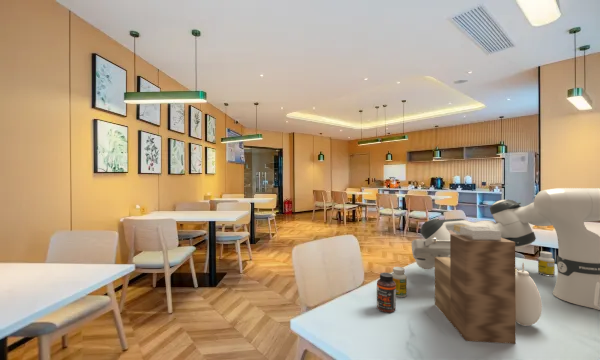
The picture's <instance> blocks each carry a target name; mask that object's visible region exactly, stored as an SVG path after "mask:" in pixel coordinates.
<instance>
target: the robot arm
mask: <svg viewBox="0 0 600 360" xmlns="http://www.w3.org/2000/svg"><path fill="white" fill-rule="evenodd" d="M521 204H522V203H521V202H517V201H515V200H513V199H500V200H496V202H494V203H492V205H490V207H489V212H490V215H492V217H493V219H494V221H492V220H480V221H475V222H473V221H469V220H467V219H465V218H449V219H437V218H432V219H429V220H428V221H427V220H426V221H425V222H424V223H423V224H421V227H420V234H421V236H422V237H423V238H424V239H421V238H420V239H417V238H416V239H413V240H412V241H411V253H412V256H413V259H414V260H415V262H416V264H417V266H418V267H419V268H421V269H422V270H431V269H435V257H450V234H451V232H453V233H454V234H457V235H460V232H458V231H456V230H454V225H466V226H475V227H489V228H492V229H495V230H499V231H501V238H504V239H507V240H510V241H513V242H515V248H516V247H517V248H518V247H520V248H521V247H528V246H529V245H531V244H532V243H534V242H535V241H536V239H537V237H536V234H535V232H534V231H533V230H532V226H531V225H533V226H539V227H549V226H553V228H554V231H555V233H556V236H557V243H558V244H557V246H558V247H557V249H558V250H557V251H558V255H556V269H557V275H556V276H557V277H556V281H555V285H554V288H553V291H552V295H553V296H554V297H556V298H558V299H560V300H562V301H565V302H568V303H571V304H574V305H577V306H582V307H585V308H586V307H587V308H590V309H595V310H598V311H600V235H599V234H597V233H595V232H594V231H591V230H589V229H587V226H586V225H585V223H587V222H588V223H589V222H599V221H600V188H599V187H597V188H596V187H588V188H587V187H555V188H548V189H543V190H540V191H539V192H537V194H536V195H535V197H534V200H533V202H531V203H529V204H528V205H525V206H522V205H521ZM450 231H451V232H450Z"/></svg>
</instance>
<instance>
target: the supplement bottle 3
mask: <svg viewBox="0 0 600 360" xmlns="http://www.w3.org/2000/svg"><path fill="white" fill-rule="evenodd" d="M539 254H540V255H539V257H538V258H537V269H538V270H537V272H538V273H537V274H539V273H540V274H539V275H541V274H543V275H542V276H544V275H549V276H553V277H555V276H554V275H556V274H555V273H556V272H555V267H556V265H555V263H556V261H555V259H554V258H553V253H552V252H551V251H550V252H549V251H539ZM549 276H548V277H549Z"/></svg>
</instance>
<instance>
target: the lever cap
mask: <svg viewBox="0 0 600 360" xmlns="http://www.w3.org/2000/svg"><path fill="white" fill-rule="evenodd" d="M454 230H456V231H458V232H460V235H462V236H464V237H466V238H469V239H471V240H492V241H501V231H499V230H495V229H492V228H489V227H475V226H466V225H454Z"/></svg>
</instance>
